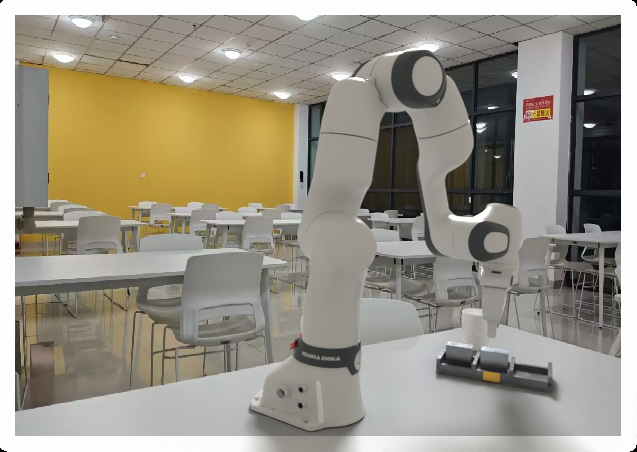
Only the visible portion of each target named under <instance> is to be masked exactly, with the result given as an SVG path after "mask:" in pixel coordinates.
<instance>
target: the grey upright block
mask: <svg viewBox="0 0 637 452" xmlns="http://www.w3.org/2000/svg"><path fill="white" fill-rule="evenodd" d="M480 352H481V358H480V369H481V370H487V371H493V372H498V373H504V374H507V372H508V361H509V355H510V354H509V353H510V350H509V349H502V348H496V347H495V348H494V347H489V346H488V347H483V346H482V349H481V351H480Z"/></svg>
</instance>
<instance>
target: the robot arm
mask: <svg viewBox="0 0 637 452" xmlns="http://www.w3.org/2000/svg"><path fill="white" fill-rule="evenodd" d="M328 94H329V95H328V97H327V100H326V104H325V108H324V111H323V113H322V114H323V115H322V119H321V124H320V129H319V135H318V136H319V137H318V142H317V148H316V149H317V150H316V156H315V161H314V168H313V174H312V179H311V182H310V187H309V190H308V194H307V196H306V200H305V204H304V206H303V211H302V214H301V215H302V216H301V220H300V223H299V225H298V228H297V232H296V233H297V235H296V237H297V242H298V246H299V248H300V251H301V252H302V253H303V255H304V256H305V257H306V258H307V259H309V261H310V262H309V263H310V265H309V266H310V268H309V275H308V281H307V286H306V289H305V290H306V291H305V293H304V295H303V299H302V325H301V328H302V329H301V334H300V335H299V337H296V338H295V339H293V342H291V343H289V346H290V347H289V350H290V351H292V350H293V354H292V355H290V356H289V357H288V358H286V359H284V360H283V361H282V362H280V363H279V364H277V365H276V366H274V367H273V368H272V369H271V370H270V371H269V372H268V373H267V374H266V376H265V379H264V383H263V387H262V388H261V389H260V390H259V391H258V392H257V393H256V394H255V395H254V396H253V397H252V398H251V401H250V409H251V410H252V411H254V412H256V413H260V414H263V415H265V416H268V417H270V418H272V419H275V420H279V421H281V422H284V423H287V424H289V425H292V426H295V427H297V428H300V429H302V430H305V431H309V432H313V431H318V430H323V429H325V428H335V427H337V428H338V427H345V426H349V425H351V424H354V423H357V422H359V421H360V420H361V419H363V417H364V416H365V414H366V409H365V405H364V401H363V395H362V389H361V380H360V370H361V365H362V341H361V339H360V328H361V327H360V325H361V324H360V322H361V321H360V320H361V306H362V305H361V303H362V298H363V292H364V287H365V284H366V279H367V275H368V272H369V267H370V266H371V265H372V263H373V261H374V260H375V257H376V254H377V248H378V247H377V245H378V244H377V240H376V235H375V234H374V232H373V231H372V230H371V228H370V227H369V226H368V225H367V223H366V222H364V221H363V220H362V219H360V218H359V217H358V215H359V211H360V210H361V209H360V208H361V206H362V202H364V201H363V200H364V198H365V196H366V193H367V192H368V190H369V189H370V187H371V185H372V182H373V175H374V168H375V164H376V155H377V150H378V142H379V135H380V134H379V133H380V125H381V124H380V123H381V121H382V119H383V117H384V115H385V113H401V112H406V113H407V114H408V116H409V117H410V118H411V121H412V125H413V129H414V134H415V136H416V140H417V144H418V153H419V154H418V158H417V161H416V179H417V185H418V190H419V197H420V203H421V208H422V212H423V223H424V227H423V229H424V233H423V234H424V241H425V245H426V247H427V249H428V251H429V252H430V253H432V254H433V255H434V256H437V257H440V258H442V257H444V258H453V259H457V260H463V261H470V262H475V263H477V262H478V268H477V269H478V270H477V280H479V285H480V286H481V309H482V315H483V319H484V320H485V321H487V329H488V331H487V336H488V337H489V338H491V339H495V338H496V337H497V336H496V335H497V329H498V328H499V327H500V324H501V323H500V322H501V319H502V316H503V313H504V310H505V307H506V305H507V297H508V291H511V290H512V287H513V285H517V284H519V271H520V258H519V252H520V248H521V245H522V238H523V237H522V236H523V219H522V214H521V213H522V212H521V210H520V209H519V208H517V207H515V206H514V205H510V204H504V203H497V202H492V203H488V204H486V207H485V209H484V210H483V211H482V212H480V213H479V214H477V215H475V216H473V217H466V216H460V215H459V216H458V215H456V214H454V213H453V212H452V211H451V210H450V208H449V201H448V195H447V189H446V187H447V186H446V177H447V174H448V173H450V172H452V171H454V170H456V169H457V168H459V167H460V166H462V165H463V164H464V163H465V162H466V161H467V160H468V159H469V158H470V156H471V154H472V152H473V149H474V133H473V129H472V125H471V122H470V119H469V114H468V111H467V108H466V106H465V103H464V100H463V98H462V95H461V93H460V92H459V89H458V86H457V85H456V82H455V81H454V80H453V79H452V78H451V76H448V74H446V71H445V68H444V66H443V63H442V62H441V60H440V58H439V57H438V56H437V55H436V54H435V53H434V52H433V51H431V50H429V49H425V48H418V47H417V48H409V49H406V50H404V51H403V50H402V51H397V52H389V53H385V54H381V55H380V56H377V57H375V58H373V59H369V60H367V61H364V62H362V63H361V64H360V65H358V67H356V69H355V70H354V71H353V73H352V74H351V76H350V77H347V78H344V79H343V78H342V79H341V80H338V81H337V82H336V83H335V84H334V85H333V86H332V87H331V89H330V92H329V93H328Z"/></svg>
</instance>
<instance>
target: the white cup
mask: <svg viewBox="0 0 637 452" xmlns="http://www.w3.org/2000/svg"><path fill="white" fill-rule="evenodd" d="M487 331H488V329H487V321H485V320H484V319H483V315H482V308H473V307H470V308H464V309H462V311H461V335H462V341H461V343H463V344H470V345H474V347H473V352H477V351H479V352H481V349H482V346H483V347H489V342H490V338H489V337H488V336H487Z"/></svg>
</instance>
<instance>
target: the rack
mask: <svg viewBox="0 0 637 452" xmlns="http://www.w3.org/2000/svg"><path fill="white" fill-rule="evenodd" d="M473 347H474V345H470V344H463V343H462V342H457V341H456V342H454V341H448V340H447V342H446V345H445V346H443V347H442V349H441V350H440V352H439V354H438V356H437V358H436V363H435V365H436V366H435V373H436V374H441V375H442V374H443V375H448V376H453V377H459V378H465V379H470V380H475V379H476V381H482V382H487V383H493V384H499V385H504V386H510V387H517V388H522V389H527V390H528V389H529V390H534V391H539V392H545V393H552V391H553V378H554V377H553V375H554V374H553V362H551V361H548V362H547V366H543V365H542V366H541V365H535V364H529V363H523V362H516V356H511V357H510V358H511V359H510V360H508V372H507V374H504V373H498V372H493V371H487V370H481V369H480V358H481V351H476V354H475V355H474V351H473Z"/></svg>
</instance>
